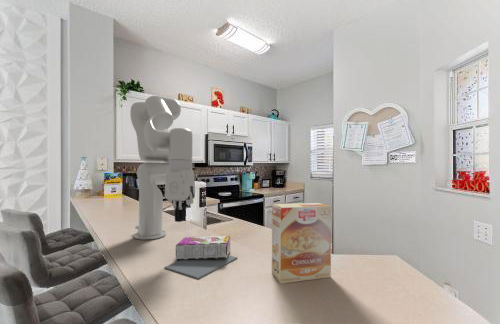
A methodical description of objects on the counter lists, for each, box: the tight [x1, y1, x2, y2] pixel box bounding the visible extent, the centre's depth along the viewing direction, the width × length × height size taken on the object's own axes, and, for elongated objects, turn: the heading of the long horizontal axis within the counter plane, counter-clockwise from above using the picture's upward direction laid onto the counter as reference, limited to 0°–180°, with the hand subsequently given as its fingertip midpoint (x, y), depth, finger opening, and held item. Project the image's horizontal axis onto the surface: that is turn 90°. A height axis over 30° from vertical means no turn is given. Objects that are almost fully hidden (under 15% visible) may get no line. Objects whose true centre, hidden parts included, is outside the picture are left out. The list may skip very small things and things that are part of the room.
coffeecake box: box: [271, 202, 332, 284], centre depth 69 cm, size 15×7×20 cm, turn 105°
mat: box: [164, 254, 238, 280], centre depth 77 cm, size 14×18×1 cm
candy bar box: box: [175, 235, 231, 261], centre depth 84 cm, size 11×5×16 cm
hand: (180, 220), depth 83 cm, fingers closed
